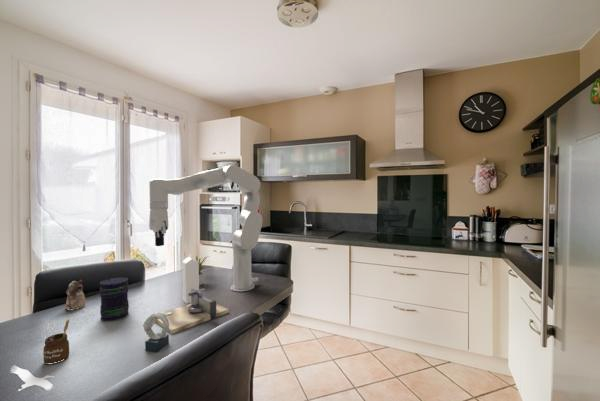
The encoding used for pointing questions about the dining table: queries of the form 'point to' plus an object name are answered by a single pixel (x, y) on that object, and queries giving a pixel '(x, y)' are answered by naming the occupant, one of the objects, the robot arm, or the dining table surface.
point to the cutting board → (187, 317)
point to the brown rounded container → (56, 346)
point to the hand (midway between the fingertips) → (159, 245)
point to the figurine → (75, 296)
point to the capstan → (201, 303)
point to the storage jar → (114, 298)
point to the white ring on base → (157, 339)
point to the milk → (190, 277)
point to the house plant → (201, 269)
